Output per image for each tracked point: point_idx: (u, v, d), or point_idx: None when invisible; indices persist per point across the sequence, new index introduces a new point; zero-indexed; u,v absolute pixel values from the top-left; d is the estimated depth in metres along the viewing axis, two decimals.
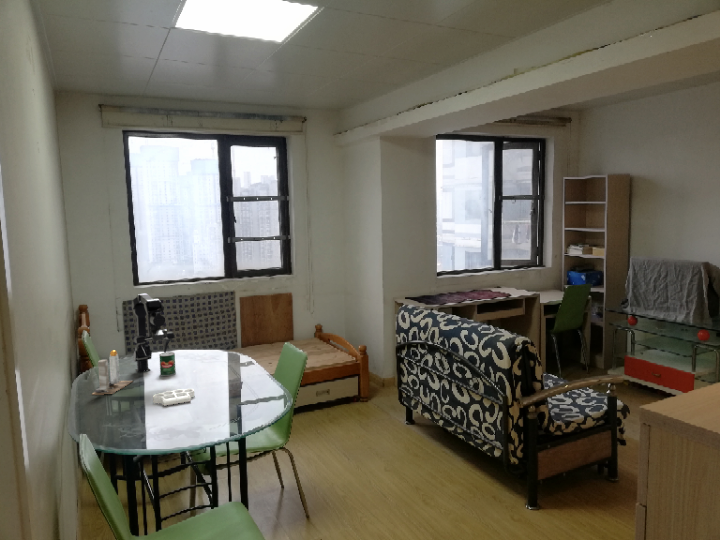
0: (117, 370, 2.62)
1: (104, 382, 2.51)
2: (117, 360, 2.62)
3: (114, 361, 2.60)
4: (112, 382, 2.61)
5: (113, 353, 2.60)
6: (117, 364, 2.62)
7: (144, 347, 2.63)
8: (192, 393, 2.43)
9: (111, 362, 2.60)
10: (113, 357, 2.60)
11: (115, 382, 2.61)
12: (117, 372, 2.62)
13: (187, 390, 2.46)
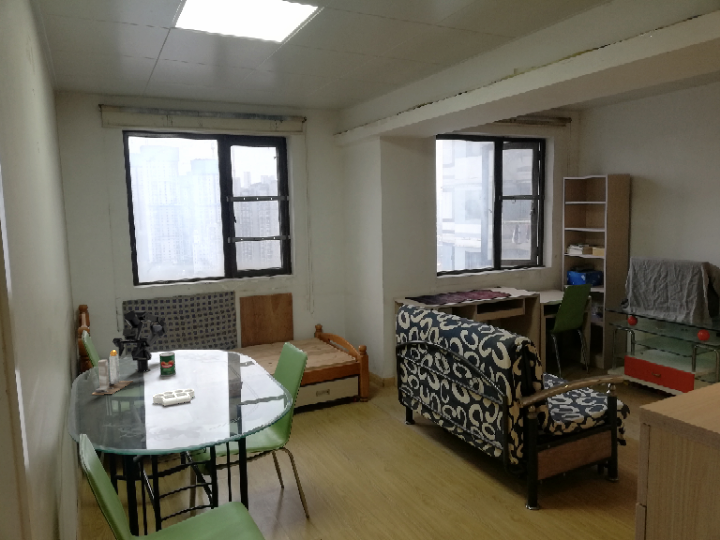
0: (117, 370, 2.62)
1: (104, 382, 2.51)
2: (117, 360, 2.62)
3: (114, 361, 2.60)
4: (112, 382, 2.61)
5: (113, 353, 2.60)
6: (117, 364, 2.62)
7: (119, 347, 2.76)
8: (192, 393, 2.43)
9: (111, 362, 2.60)
10: (113, 357, 2.60)
11: (115, 382, 2.61)
12: (117, 372, 2.62)
13: (187, 390, 2.46)
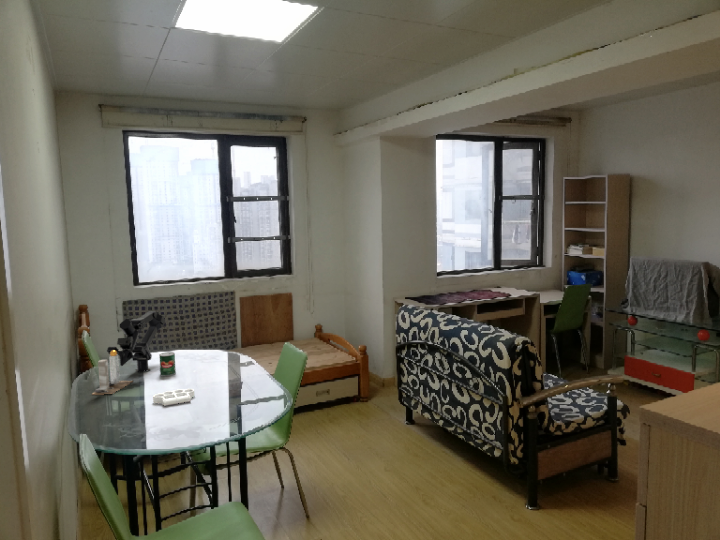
0: (117, 370, 2.62)
1: (104, 382, 2.51)
2: (117, 360, 2.62)
3: (114, 361, 2.60)
4: (112, 382, 2.61)
5: (113, 353, 2.60)
6: (117, 364, 2.62)
7: (121, 356, 2.71)
8: (192, 393, 2.43)
9: (111, 362, 2.60)
10: (113, 357, 2.60)
11: (115, 382, 2.61)
12: (117, 372, 2.62)
13: (187, 390, 2.46)
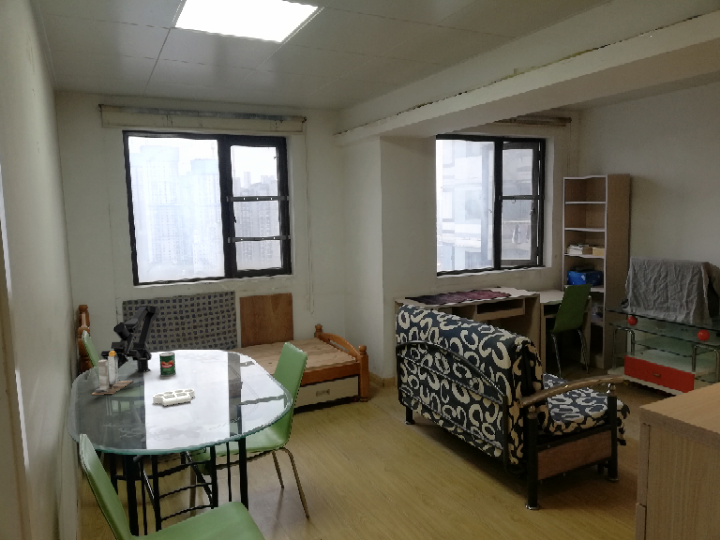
0: (116, 371, 2.61)
1: (104, 382, 2.51)
2: (116, 361, 2.61)
3: (113, 362, 2.59)
4: (111, 383, 2.60)
5: (112, 354, 2.59)
6: (116, 365, 2.61)
7: None
8: (192, 393, 2.43)
9: (110, 363, 2.59)
10: (112, 358, 2.59)
11: (114, 383, 2.60)
12: (116, 373, 2.61)
13: (187, 390, 2.46)
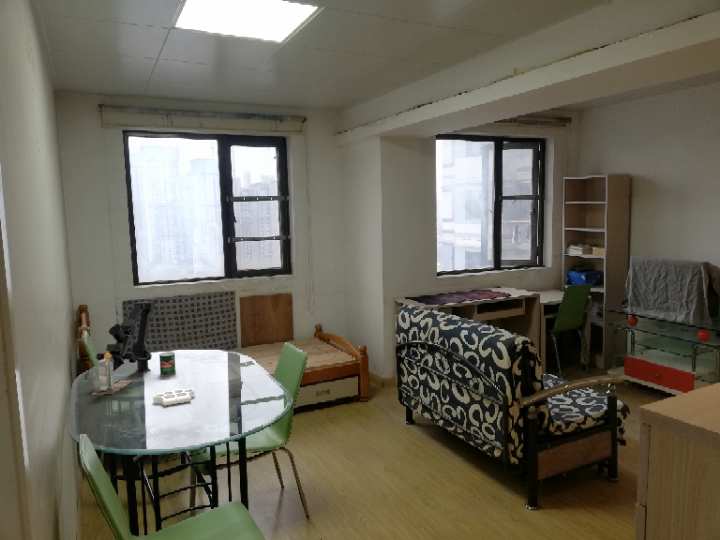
0: (111, 373, 2.56)
1: (104, 382, 2.51)
2: (111, 363, 2.57)
3: (108, 364, 2.55)
4: None
5: (107, 356, 2.55)
6: (111, 367, 2.57)
7: None
8: (192, 393, 2.43)
9: None
10: None
11: (109, 385, 2.56)
12: (111, 375, 2.56)
13: (187, 390, 2.46)
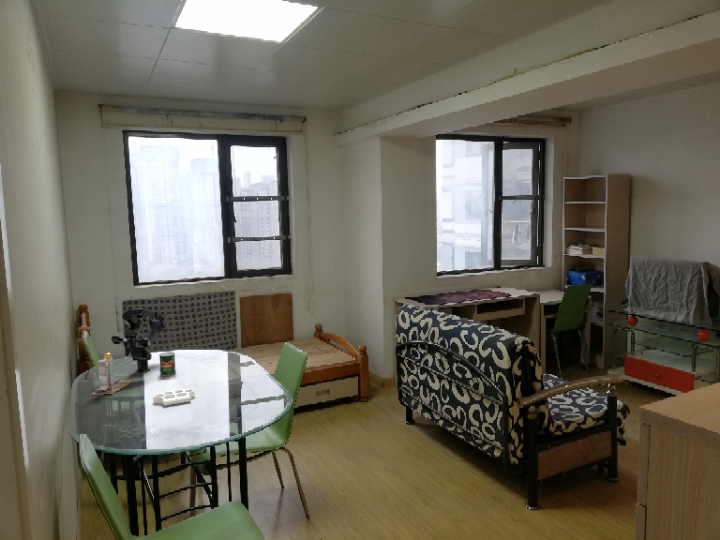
0: (111, 373, 2.56)
1: (104, 382, 2.51)
2: (111, 363, 2.57)
3: (108, 364, 2.55)
4: None
5: (107, 356, 2.55)
6: (111, 367, 2.57)
7: (126, 346, 2.75)
8: (192, 393, 2.43)
9: None
10: None
11: (109, 385, 2.56)
12: (111, 375, 2.56)
13: (187, 390, 2.46)
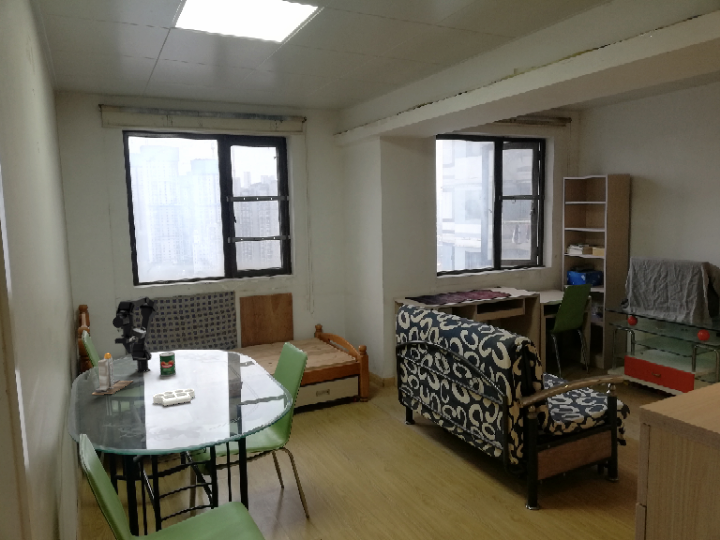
0: (111, 373, 2.56)
1: (104, 382, 2.51)
2: (111, 363, 2.57)
3: (108, 364, 2.55)
4: None
5: (107, 356, 2.55)
6: (111, 367, 2.57)
7: (130, 345, 2.76)
8: (192, 393, 2.43)
9: None
10: None
11: (109, 385, 2.56)
12: (111, 375, 2.56)
13: (187, 390, 2.46)
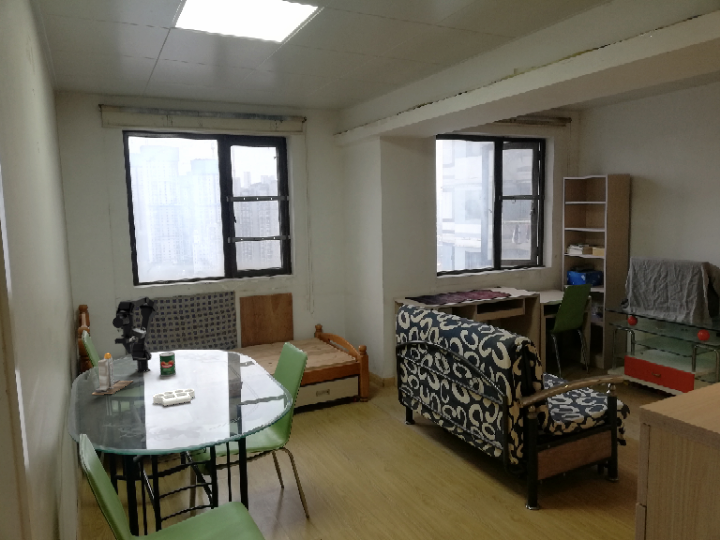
0: (111, 373, 2.56)
1: (104, 382, 2.51)
2: (111, 363, 2.57)
3: (108, 364, 2.55)
4: None
5: (107, 356, 2.55)
6: (111, 367, 2.57)
7: (130, 345, 2.76)
8: (192, 393, 2.43)
9: None
10: None
11: (109, 385, 2.56)
12: (111, 375, 2.56)
13: (187, 390, 2.46)
